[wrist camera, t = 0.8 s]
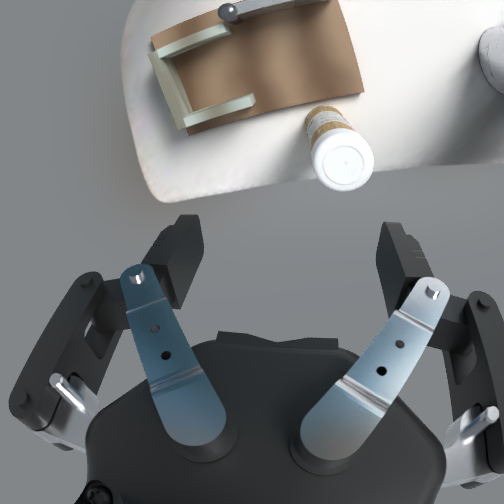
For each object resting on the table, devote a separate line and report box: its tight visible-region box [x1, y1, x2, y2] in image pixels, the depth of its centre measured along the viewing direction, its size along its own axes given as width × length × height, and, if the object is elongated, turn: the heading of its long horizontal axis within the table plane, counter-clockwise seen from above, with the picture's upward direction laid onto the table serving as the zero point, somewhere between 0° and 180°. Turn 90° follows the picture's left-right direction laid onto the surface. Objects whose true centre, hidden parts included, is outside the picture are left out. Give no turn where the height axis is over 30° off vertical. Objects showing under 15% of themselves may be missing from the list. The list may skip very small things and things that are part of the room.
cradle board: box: [148, 0, 364, 136], centre depth 25 cm, size 20×13×4 cm, turn 107°
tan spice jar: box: [305, 106, 374, 192], centre depth 25 cm, size 5×5×13 cm
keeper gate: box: [218, 0, 332, 25], centre depth 21 cm, size 11×2×4 cm, turn 107°
